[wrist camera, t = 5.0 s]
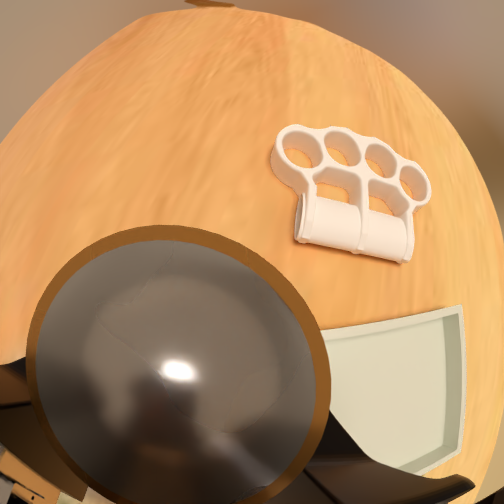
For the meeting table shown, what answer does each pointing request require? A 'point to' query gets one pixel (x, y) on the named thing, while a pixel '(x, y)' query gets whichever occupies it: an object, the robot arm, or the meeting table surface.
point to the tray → (402, 387)
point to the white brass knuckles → (351, 192)
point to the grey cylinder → (177, 370)
